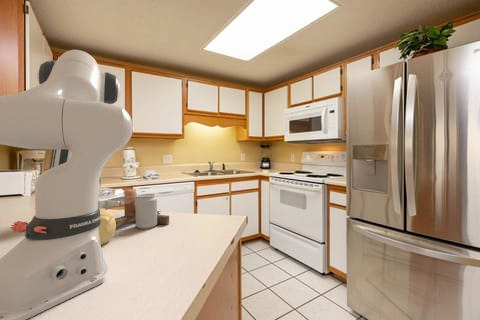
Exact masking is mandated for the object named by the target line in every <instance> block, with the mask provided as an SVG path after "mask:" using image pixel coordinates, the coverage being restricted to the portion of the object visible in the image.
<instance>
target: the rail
mask: <svg viewBox="0 0 480 320" xmlns="http://www.w3.org/2000/svg"><path fill="white" fill-rule="evenodd" d="M159 212H161V213H162V211H161V210H160V211H159V210H157V215H161V214H160V213H159ZM134 224H135V225H136V220H135V221H132V222H129V223H126V224H123V225H121V226H118V227H116V229H115V232H116V231H118V230H121V229H124V228H127V227H129V226H132V225H134Z"/></svg>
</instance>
